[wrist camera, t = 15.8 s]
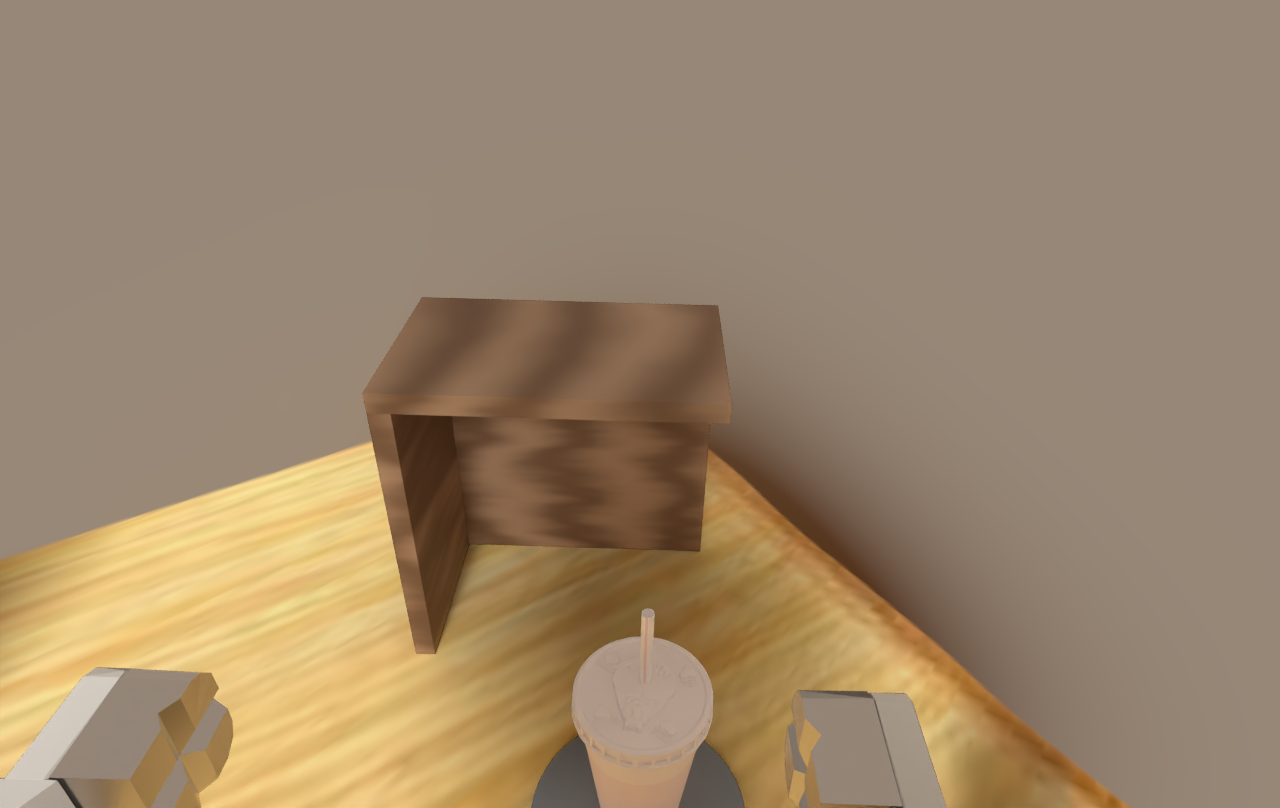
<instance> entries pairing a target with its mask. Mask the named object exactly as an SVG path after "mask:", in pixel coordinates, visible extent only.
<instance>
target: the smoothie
mask: <svg viewBox="0 0 1280 808" xmlns="http://www.w3.org/2000/svg"><path fill="white" fill-rule="evenodd" d="M654 618H655V613H654V611H653V610H652V609H644V610H643V611H642V615H641V636H636V637H628V638H623V639H619V640H616V641H613V642H611V643H608V644H606V645H604V646H602V647H601V648H599V649H598V650H596V651H595V652H594V653H593V654H591V655H590V656H589V657H588V658H587V659H586V661H585V662H584V663H583V664H582V666H581V667H580V669H579V671H578V673H577V675H576V678H575V681H574V684H573V691H572V703H571V709H572V718H573V723H574V725H575V728H576V730H577V732H578V735H579V737H580V738H581V739H582V741H583V742H584V743H585V745H586V748H587V752H588V757H589V761H590V765H591V769H592V774H593V778H594V782H595V787H596V791H597V795H598V799H599V804H600V808H678V807H679V804H680V800H681V797H682V794H683V791H684V787H685V784H686V781H687V778H688V775H689V771H690V768H691V765H692V762H693V758H694V755H695V752H696V750H697V749H698V747H699V746H700V745H701V743H702V742H703V740H704V739H705V738H706V736H707V735H708V732H709V729H710V726H711V723H712V720H713V689H712V684H711V681H710V678H709V676H708V674H707V672H706V670H705V668H704V667H703V666H702V664H701V663H700V662H699V661H698V659H697V658H696V657H695V656H693V655H692V654H691V653H690V652H689V651H687V650H686V649H684V648H683V647H681V646H679V645H677V644H675V643H673V642H670V641H667V640H664V639H660V638H656V637H654Z"/></svg>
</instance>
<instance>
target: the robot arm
mask: <svg viewBox="0 0 1280 808" xmlns="http://www.w3.org/2000/svg"><path fill="white" fill-rule="evenodd" d="M218 689H219V687H218V685H217V684H216V682H215V680H214V678H213V676H212V674H211V673H204V672H185V671H165V670H146V669H130V668H102V667H96V668H95V669H94V670H92V671H91V672H89V673H88V674H86V675H85V676H83V677H82V678H81V680H80V681H79V682H78V684H77V685H76V686H75V687H74V689H73V690H72V691H71V693H70V694H69V695H68V697H67V698H66V699H65V701H64V702H63V703H62V704H61V706H60V707H59V708H58V710H57V711H56V712H55V714H54V715H53V716H52V718H51V719H50V720H49V721H48V723H47V724H46V725H45V727H44V728H43V729H42V731H41V732H40V733H39V734H38V736H37V737H36V738H35V740H34V741H33V742H32V744H31V745H30V746H29V748H28V749H27V750H26V751H25V753H24V754H23V755H22V757H21V758H20V759H19V761H18V762H17V763H16V765H15V766H14V767H13V768H12V770H11V771H10V772H9V774H8V775H7V776H6V778H0V808H201V803H200V798H199V793H200V792H201V791H202V790H203V789H205V788H206V787H207V786H208V785H210V784H211V783H212V782H214V781H215V780H216V779H217V778H218V777H219V775H220V773H221V771H222V769H223V767H224V765H225V763H226V761H227V759H228V756H229V751H230V747H231V743H232V738H233V725H232V718H231V716H230V713H229V711H228V708H226V707H225V706H223V705H222V704H220V703H219V702H218V701H216V700H215V699H213V698H214V696H215V694H216V692H217V690H218ZM792 711H793V717H794V723H792V724H791V725H790V726H788V729H787V736H786V742H785V769H786V781H787V788H788V796H789V798H790V799H791V800H792V802H793V803H794V804H795V805H796V806H797V808H947V807H946V804H945V801H944V798H943V795H942V792H941V789H940V785H939V782H938V779H937V776H936V773H935V770H934V767H933V764H932V761H931V758H930V755H929V752H928V748H927V745H926V742H925V739H924V736H923V733H922V730H921V727H920V724H919V721H918V718H917V715H916V711H915V708H914V705H913V702H912V700H911V699H910V698H909V697H908V695H907V694H904V693H868V692H867V691H809V690H797V692H796V693H795V695H794V699H793V703H792Z"/></svg>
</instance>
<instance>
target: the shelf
mask: <svg viewBox="0 0 1280 808" xmlns="http://www.w3.org/2000/svg"><path fill="white" fill-rule="evenodd" d="M362 394H363V399H364V403H365V408H366V413H367V418H368V423H369V428H370V432H371V437H372V442H373V447H374V452H375V457H376V462H377V466H378V471H379V476H380V481H381V486H382V491H383V496H384V500H385V505H386V510H387V515H388V520H389V525H390V529H391V534H392V539H393V544H394V549H395V554H396V559H397V563H398V568H399V573H400V578H401V583H402V588H403V592H404V597H405V602H406V607H407V612H408V617H409V622H410V626H411V631H412V636H413V641H414V646H415V651H416V653H421V654H435V653H436V649H437V646H438V643H439V640H440V636H441V633H442V630H443V627H444V623H445V620H446V617H447V614H448V610H449V607H450V604H451V601H452V597H453V594H454V591H455V587H456V584H457V581H458V578H459V574H460V571H461V568H462V565H463V561H464V558H465V555H466V552H467V548H468V545H469V544H493V545H526V546H558V547H590V548H623V549H655V550H687V551H700V543H701V530H702V518H703V506H704V494H705V482H706V469H707V457H708V445H709V432H710V424H711V423H712V424H730V419H731V409H732V401H731V394H730V387H729V379H728V372H727V366H726V358H725V351H724V344H723V337H722V331H721V323H720V316H719V309H718V306H716V305H680V304H644V303H607V302H572V301H536V300H533V301H532V300H500V299H498V300H497V299H463V298H461V299H460V298H428V297H427V298H426V297H422V298H421V300H420V302H419V303H418V305H417V306H416V308H415V310H414V311H413V313H412V314H411V316H410V318H409V319H408V321H407V323H406V324H405V326H404V327H403V329H402V331H401V332H400V334H399V335H398V337H397V338H396V340H395V342H394V343H393V345H392V346H391V348H390V350H389V351H388V353H387V354H386V356H385V358H384V359H383V361H382V362H381V364H380V366H379V367H378V369H377V370H376V372H375V374H374V375H373V377H372V379H371V380H370V382H369V383H368V385H367V387H366V388H365V390H364V391H363V393H362Z"/></svg>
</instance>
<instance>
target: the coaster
mask: <svg viewBox="0 0 1280 808" xmlns="http://www.w3.org/2000/svg"><path fill="white" fill-rule="evenodd" d="M531 808H600V804H599V799H598V795H597V791H596V787H595V782H594V778H593V774H592V769H591V765H590V761H589V757H588V752H587V748H586V745H585V743H584V742H583V741H582V739H581V738H580V737H579V736H577V737H576V738H574V739H573V740H572V741H570V742H569V743H568V744H567V745H566V746H565V747H563V748H562V749H561V750H560V751H559V752H558V754H557V755H556V756H555V757H554V758H553V759H552V761H551V762H550V764H549V765H548V767H547V768H546V770H545V771H544V773H543V775H542V777H541V779H540V781H539V783H538V786H537V789H536V791H535V794H534V798H533V803H532V807H531ZM678 808H745V807H744V802H743V799H742V795H741V792H740V789H739V787H738V784H737V782H736V780H735V777H734V776H733V774H732V772H731V771H730V769H729V767H728V766H727V764H726V763H725V762H724V761H723V759H722V758H721V757H720V755H719V754H718V753H717V752H716V751H715V750H714V749H713V748H712V747H711V746H710V745H708V744H707V743H706V742H705V741H703V742H702V743H701V745H700V746H699V747H698V749H697V750H696V752H695V755H694V758H693V762H692V765H691V768H690V771H689V775H688V778H687V781H686V784H685V787H684V791H683V794H682V797H681V800H680V804H679V807H678Z"/></svg>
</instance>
